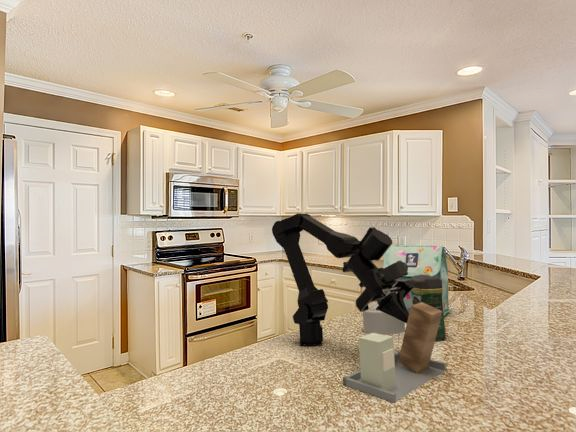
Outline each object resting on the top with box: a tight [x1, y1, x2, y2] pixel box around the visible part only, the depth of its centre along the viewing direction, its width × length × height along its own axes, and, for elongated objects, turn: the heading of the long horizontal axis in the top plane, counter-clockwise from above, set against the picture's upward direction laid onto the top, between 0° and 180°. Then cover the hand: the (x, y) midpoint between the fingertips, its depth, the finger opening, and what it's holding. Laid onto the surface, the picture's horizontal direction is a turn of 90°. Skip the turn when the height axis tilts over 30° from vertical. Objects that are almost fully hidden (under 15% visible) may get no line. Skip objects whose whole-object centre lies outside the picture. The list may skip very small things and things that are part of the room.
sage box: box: [358, 333, 396, 391], centre depth 74 cm, size 5×5×10 cm
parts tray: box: [342, 351, 447, 404], centre depth 78 cm, size 12×22×2 cm, turn 132°
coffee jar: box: [411, 275, 447, 342], centre depth 109 cm, size 10×8×19 cm
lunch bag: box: [382, 244, 451, 317], centre depth 141 cm, size 23×16×27 cm
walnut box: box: [398, 302, 442, 374], centre depth 82 cm, size 5×5×14 cm
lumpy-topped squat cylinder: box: [362, 301, 406, 336], centre depth 118 cm, size 10×13×9 cm
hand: (410, 322), depth 84 cm, fingers closed
